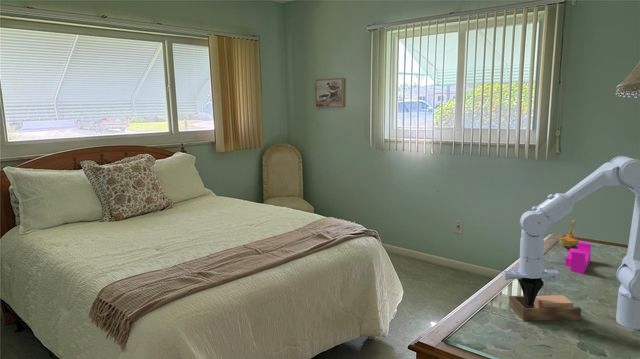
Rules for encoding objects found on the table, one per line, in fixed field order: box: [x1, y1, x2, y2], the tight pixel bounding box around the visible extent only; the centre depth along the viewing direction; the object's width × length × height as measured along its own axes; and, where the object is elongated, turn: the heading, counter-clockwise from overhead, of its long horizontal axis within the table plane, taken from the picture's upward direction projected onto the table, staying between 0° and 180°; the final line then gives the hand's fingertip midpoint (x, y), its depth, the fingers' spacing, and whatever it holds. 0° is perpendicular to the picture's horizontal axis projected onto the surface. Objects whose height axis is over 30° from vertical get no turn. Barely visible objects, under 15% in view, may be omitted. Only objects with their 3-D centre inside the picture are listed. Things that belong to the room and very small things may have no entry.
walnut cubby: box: [508, 294, 582, 322], centre depth 121 cm, size 15×9×3 cm, turn 90°
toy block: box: [564, 240, 592, 275], centre depth 156 cm, size 15×6×8 cm, turn 142°
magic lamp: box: [559, 219, 580, 249], centre depth 173 cm, size 7×18×11 cm, turn 138°
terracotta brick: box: [533, 294, 574, 308], centre depth 121 cm, size 8×5×4 cm, turn 90°
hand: (528, 304), depth 121 cm, fingers closed
